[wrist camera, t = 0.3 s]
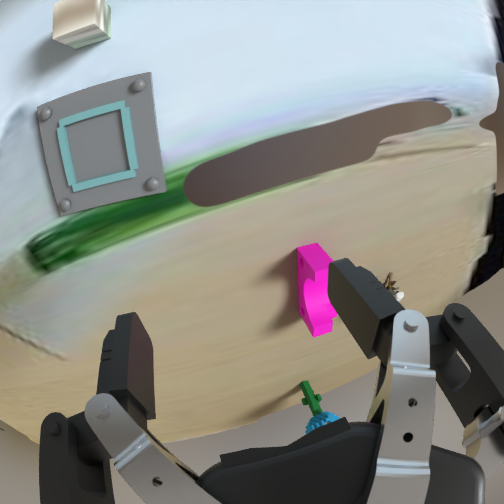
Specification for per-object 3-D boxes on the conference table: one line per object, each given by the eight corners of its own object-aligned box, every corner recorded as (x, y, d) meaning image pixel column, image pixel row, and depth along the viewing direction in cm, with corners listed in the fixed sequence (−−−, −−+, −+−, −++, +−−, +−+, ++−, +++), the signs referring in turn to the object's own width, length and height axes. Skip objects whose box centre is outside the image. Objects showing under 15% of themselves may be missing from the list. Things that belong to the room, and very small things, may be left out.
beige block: (75, 18, 20) (54, 3, 13) (110, 7, 21) (95, -13, 14) (75, 49, 23) (52, 39, 16) (110, 38, 24) (94, 23, 17)
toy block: (326, 302, 56) (343, 326, 49) (298, 311, 55) (313, 337, 48) (329, 238, 48) (351, 261, 41) (296, 247, 47) (315, 272, 40)
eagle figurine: (374, 271, 59) (365, 291, 52) (405, 272, 54) (399, 294, 48) (375, 299, 61) (365, 322, 54) (403, 302, 57) (397, 325, 50)
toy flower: (296, 374, 67) (321, 432, 52) (324, 371, 70) (351, 424, 55) (283, 393, 71) (305, 447, 56) (310, 390, 74) (334, 439, 59)
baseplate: (41, 106, 25) (34, 107, 23) (151, 73, 28) (149, 71, 26) (64, 211, 33) (58, 218, 31) (166, 188, 36) (166, 193, 34)
